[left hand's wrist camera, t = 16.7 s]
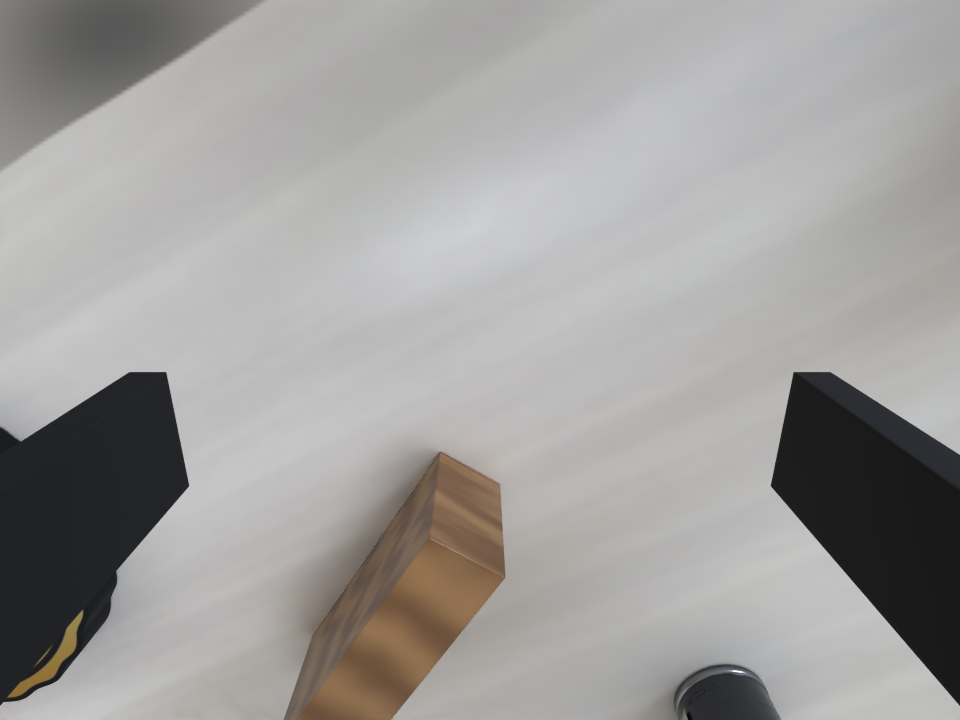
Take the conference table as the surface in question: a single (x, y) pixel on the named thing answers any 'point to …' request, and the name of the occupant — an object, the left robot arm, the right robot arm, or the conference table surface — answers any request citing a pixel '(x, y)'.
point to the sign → (71, 638)
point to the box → (406, 599)
